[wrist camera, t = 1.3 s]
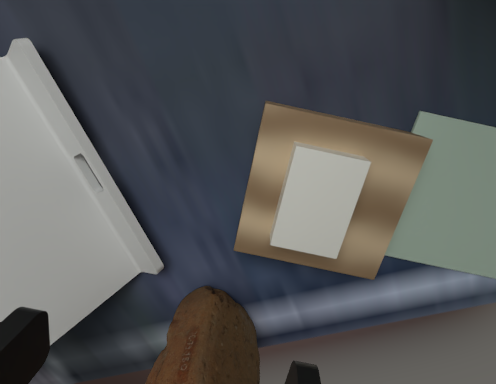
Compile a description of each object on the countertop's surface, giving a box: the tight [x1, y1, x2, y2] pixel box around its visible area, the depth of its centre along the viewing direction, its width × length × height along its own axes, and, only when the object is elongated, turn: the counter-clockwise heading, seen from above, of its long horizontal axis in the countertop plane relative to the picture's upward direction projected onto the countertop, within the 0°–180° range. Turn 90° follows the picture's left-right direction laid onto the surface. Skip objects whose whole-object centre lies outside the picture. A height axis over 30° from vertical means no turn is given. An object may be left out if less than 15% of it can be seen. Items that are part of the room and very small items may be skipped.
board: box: [234, 101, 433, 280], centre depth 29 cm, size 14×14×4 cm
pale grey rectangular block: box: [270, 141, 371, 259], centre depth 26 cm, size 9×6×2 cm, turn 168°
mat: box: [385, 111, 496, 279], centre depth 30 cm, size 15×16×1 cm
